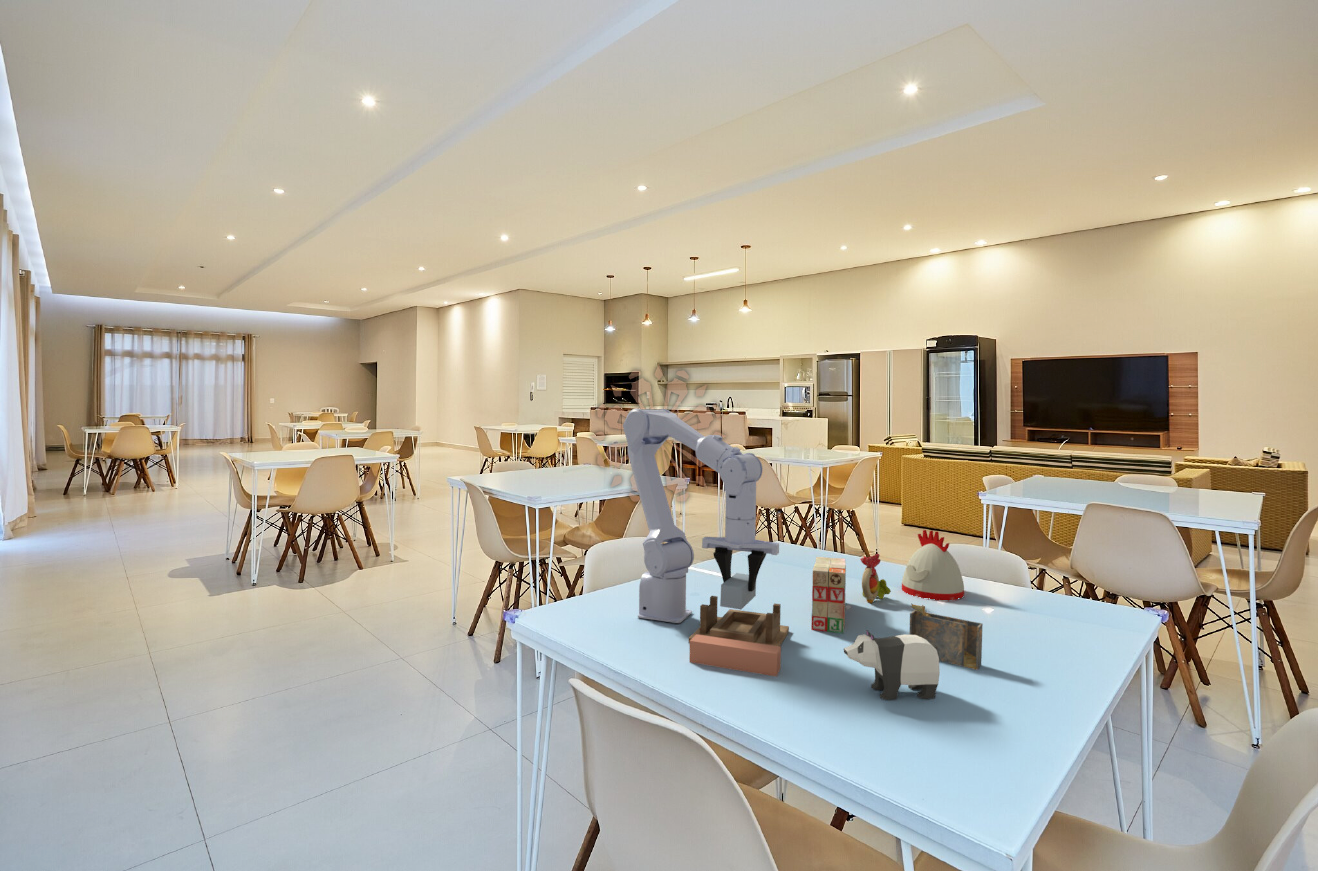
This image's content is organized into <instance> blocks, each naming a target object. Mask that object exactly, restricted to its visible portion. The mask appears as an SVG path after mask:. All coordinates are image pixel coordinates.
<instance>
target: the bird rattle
mask: <svg viewBox="0 0 1318 871" xmlns="http://www.w3.org/2000/svg"><path fill="white" fill-rule="evenodd" d="M860 562H861V563H862V564H863V565H865V566H866V567H865V568H864V571H863V573H862V575H861V576H862V578H861V588H862V593H861V594H862V597H864V598H865V600H866V602H867V604H872V603H873V602H874V601H875V600H876V598H877V597H878V599H879V600H880V599H881V600H883V599H884V597H885V596H886V595H890V594H891V592H892V590H891V589H890V588H889V586H888V585H887V581H886V579H883V578H881V579H880V578H879V574H878V572H877V569H876V567H878V565H879V564H880V563H881V559H880V554H879V553H876V554H874V555H872V556H871V555H870V556H868V557H867V556H865V555H864V556H863V557H861V558H860Z"/></svg>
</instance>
